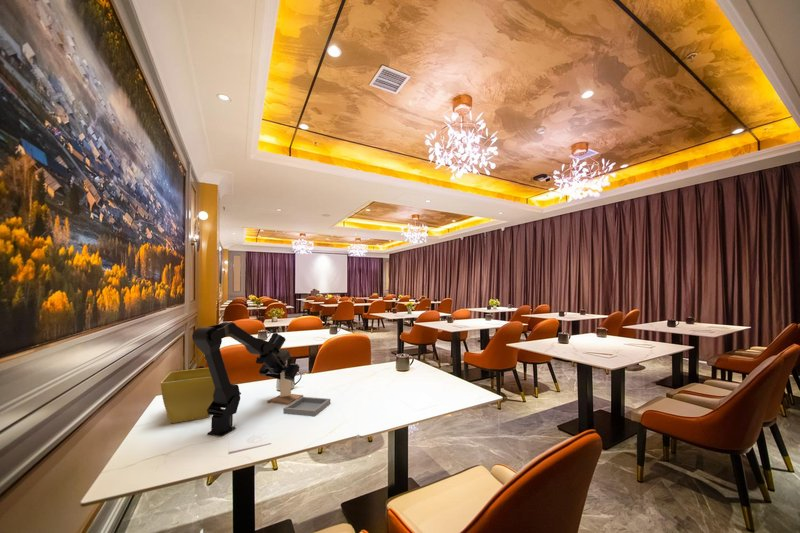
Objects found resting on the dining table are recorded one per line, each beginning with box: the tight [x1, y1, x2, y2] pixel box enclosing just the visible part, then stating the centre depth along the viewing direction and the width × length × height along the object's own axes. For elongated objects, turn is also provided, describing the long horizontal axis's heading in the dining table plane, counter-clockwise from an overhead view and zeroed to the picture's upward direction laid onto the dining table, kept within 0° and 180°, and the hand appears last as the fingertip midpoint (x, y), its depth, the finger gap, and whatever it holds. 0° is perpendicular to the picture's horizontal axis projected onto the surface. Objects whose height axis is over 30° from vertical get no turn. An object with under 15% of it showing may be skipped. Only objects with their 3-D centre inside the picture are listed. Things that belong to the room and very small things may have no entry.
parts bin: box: [283, 396, 331, 417], centre depth 131 cm, size 14×14×2 cm
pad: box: [266, 393, 304, 406], centre depth 142 cm, size 11×11×1 cm
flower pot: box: [160, 367, 215, 424], centre depth 127 cm, size 19×19×17 cm
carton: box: [279, 372, 292, 397], centre depth 143 cm, size 4×4×11 cm
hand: (287, 379), depth 144 cm, fingers closed on carton, 6 cm apart
